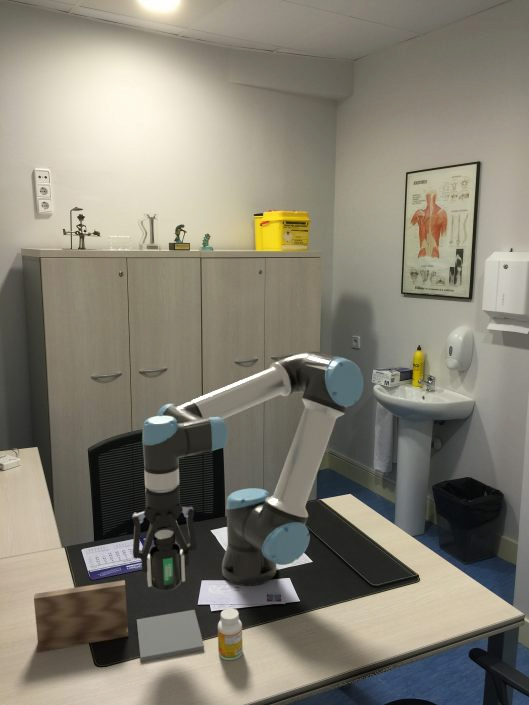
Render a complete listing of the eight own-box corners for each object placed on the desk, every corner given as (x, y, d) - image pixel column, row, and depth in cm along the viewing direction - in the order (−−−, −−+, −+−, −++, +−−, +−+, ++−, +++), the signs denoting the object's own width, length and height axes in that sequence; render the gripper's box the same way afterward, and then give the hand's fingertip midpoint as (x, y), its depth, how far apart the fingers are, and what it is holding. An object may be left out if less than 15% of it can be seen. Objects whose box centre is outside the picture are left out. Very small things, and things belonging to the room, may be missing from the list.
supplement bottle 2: (218, 645, 137) (217, 607, 136) (242, 644, 138) (241, 605, 136) (218, 661, 132) (217, 621, 130) (243, 660, 133) (242, 620, 131)
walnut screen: (127, 620, 147) (124, 575, 144) (128, 636, 141) (125, 589, 139) (39, 635, 142) (35, 589, 139) (37, 652, 136) (32, 603, 134)
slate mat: (194, 613, 149) (194, 609, 149) (204, 649, 136) (203, 645, 136) (136, 623, 146) (136, 619, 146) (140, 661, 132) (140, 657, 132)
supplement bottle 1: (175, 593, 134) (173, 543, 132) (146, 589, 136) (143, 540, 133) (185, 576, 141) (183, 528, 139) (157, 573, 142) (155, 526, 140)
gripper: (203, 475, 140) (206, 566, 144) (116, 484, 135) (121, 578, 139) (209, 487, 133) (211, 583, 137) (116, 498, 128) (122, 596, 132)
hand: (166, 580), depth 138 cm, fingers closed on supplement bottle 1, 7 cm apart
